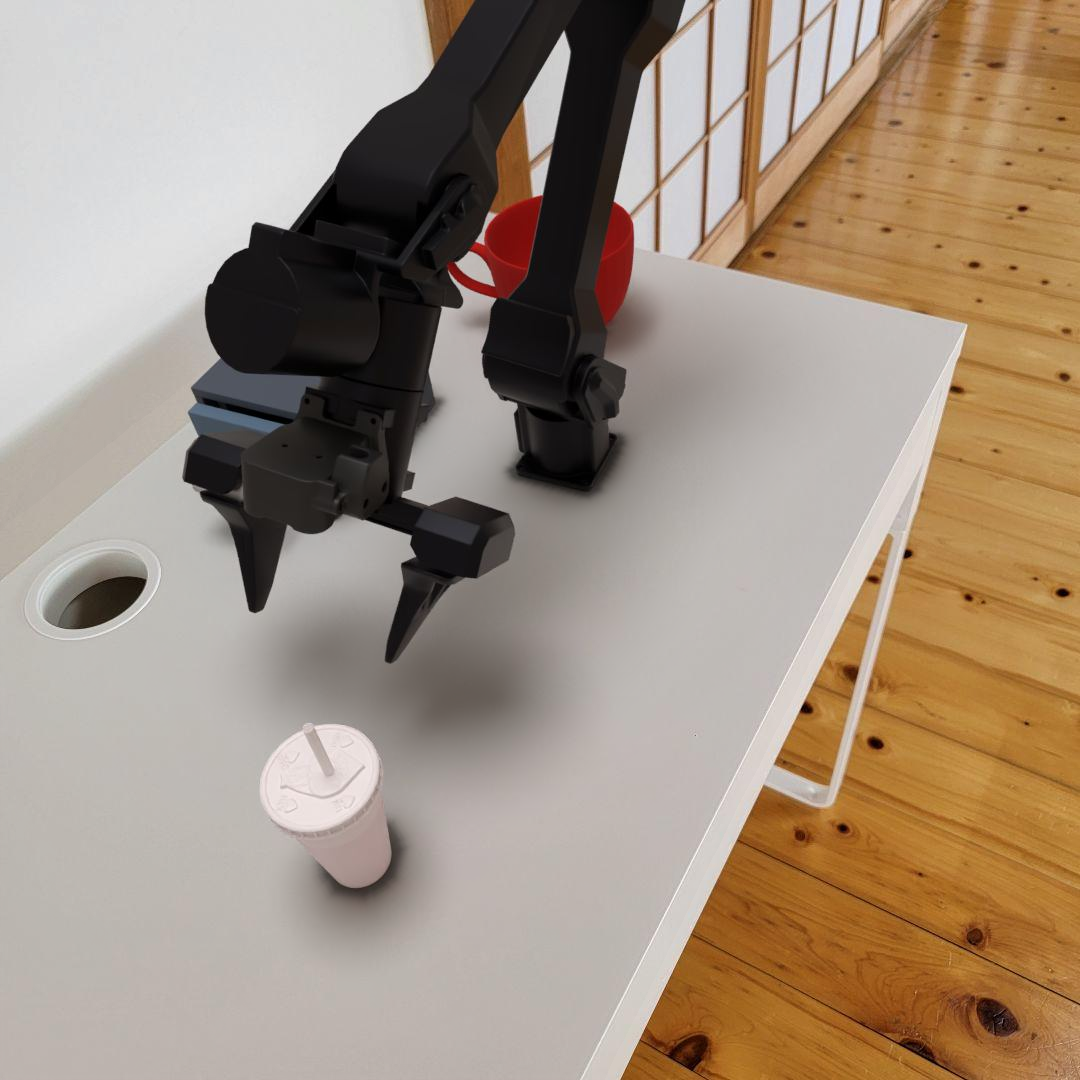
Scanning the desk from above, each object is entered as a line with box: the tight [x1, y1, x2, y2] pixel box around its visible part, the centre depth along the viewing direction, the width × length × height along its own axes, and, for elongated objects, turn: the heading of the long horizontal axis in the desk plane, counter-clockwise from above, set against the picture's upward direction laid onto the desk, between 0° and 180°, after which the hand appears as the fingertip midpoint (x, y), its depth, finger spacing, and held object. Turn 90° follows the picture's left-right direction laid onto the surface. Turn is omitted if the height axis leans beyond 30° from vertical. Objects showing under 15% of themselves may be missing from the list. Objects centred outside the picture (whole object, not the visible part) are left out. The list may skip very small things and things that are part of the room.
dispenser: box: [190, 357, 436, 428], centre depth 82 cm, size 14×13×9 cm
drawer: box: [187, 401, 293, 494], centre depth 79 cm, size 17×11×7 cm
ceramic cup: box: [447, 194, 635, 327], centre depth 90 cm, size 13×17×10 cm
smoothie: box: [259, 722, 392, 889], centre depth 54 cm, size 6×6×14 cm
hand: (322, 635), depth 59 cm, fingers open, 9 cm apart
